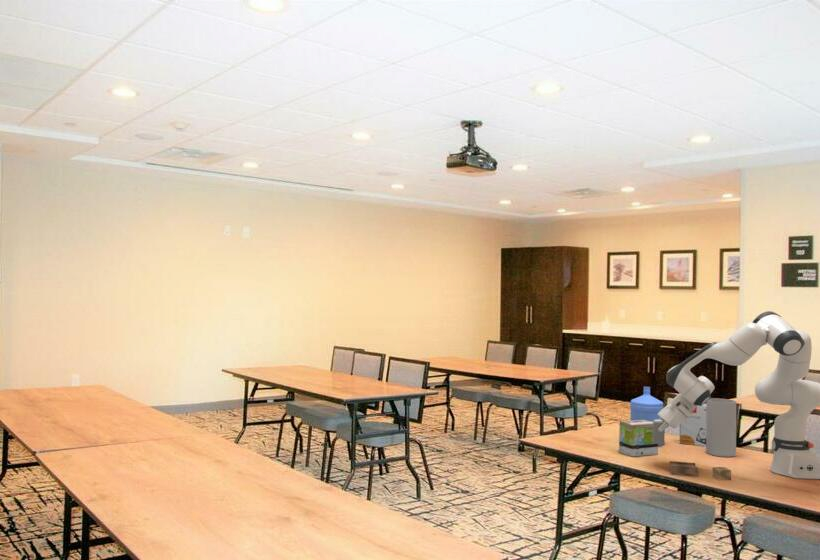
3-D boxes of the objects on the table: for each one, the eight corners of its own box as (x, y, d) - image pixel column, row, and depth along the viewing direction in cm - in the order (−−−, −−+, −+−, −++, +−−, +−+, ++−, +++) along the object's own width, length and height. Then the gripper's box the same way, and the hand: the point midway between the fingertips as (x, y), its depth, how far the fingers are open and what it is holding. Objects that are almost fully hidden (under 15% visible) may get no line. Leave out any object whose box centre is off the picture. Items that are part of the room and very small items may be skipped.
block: (724, 476, 264) (724, 467, 264) (731, 480, 259) (731, 470, 259) (712, 476, 264) (712, 467, 264) (719, 480, 259) (719, 470, 259)
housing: (663, 441, 281) (663, 419, 281) (664, 444, 277) (664, 421, 277) (652, 441, 282) (652, 419, 282) (653, 443, 278) (653, 421, 278)
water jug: (660, 448, 313) (660, 390, 313) (626, 444, 321) (627, 387, 321) (665, 442, 326) (666, 386, 327) (633, 438, 334) (633, 384, 335)
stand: (695, 471, 271) (695, 463, 271) (697, 476, 263) (697, 467, 263) (669, 469, 274) (669, 461, 274) (671, 474, 266) (671, 465, 266)
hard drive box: (679, 443, 324) (679, 403, 324) (680, 440, 330) (680, 401, 331) (713, 447, 316) (713, 406, 317) (714, 444, 323) (714, 404, 324)
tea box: (633, 457, 294) (634, 424, 295) (618, 452, 303) (618, 420, 304) (658, 454, 300) (659, 422, 301) (642, 449, 309) (643, 418, 310)
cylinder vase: (700, 452, 306) (700, 399, 306) (718, 450, 311) (719, 397, 312) (723, 458, 295) (723, 403, 295) (742, 456, 300) (742, 401, 300)
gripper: (669, 397, 289) (646, 418, 290) (682, 405, 269) (657, 428, 270) (679, 407, 288) (656, 429, 290) (693, 416, 268) (668, 439, 269)
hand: (657, 428), depth 280 cm, fingers closed on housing, 5 cm apart
